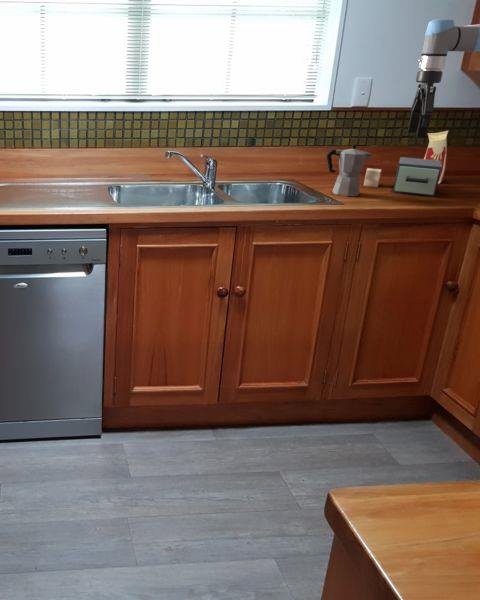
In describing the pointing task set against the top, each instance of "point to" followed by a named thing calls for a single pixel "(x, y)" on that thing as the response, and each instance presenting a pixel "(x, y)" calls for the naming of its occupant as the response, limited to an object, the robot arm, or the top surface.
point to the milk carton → (437, 150)
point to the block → (372, 177)
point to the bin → (416, 180)
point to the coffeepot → (348, 170)
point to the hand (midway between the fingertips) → (416, 135)
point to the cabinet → (420, 164)
